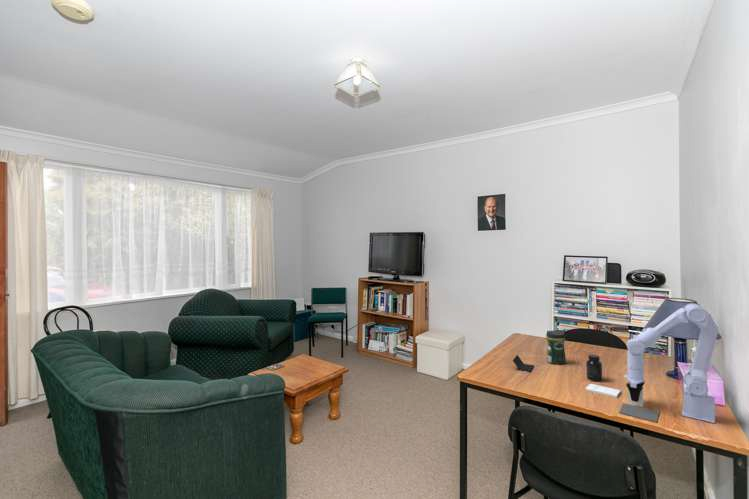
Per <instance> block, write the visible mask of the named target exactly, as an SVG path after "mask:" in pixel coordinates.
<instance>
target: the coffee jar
mask: <svg viewBox="0 0 749 499" xmlns="http://www.w3.org/2000/svg"><path fill="white" fill-rule="evenodd" d="M545 336H546V340H547V351H546V361H547V362H548V364H552V365H564V364H566V363H567V360H566V353H565V351H566V350H565V341H566V335H565V332H564V331H562V330H547V331H546V334H545Z"/></svg>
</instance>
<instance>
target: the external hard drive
mask: <svg viewBox="0 0 749 499" xmlns="http://www.w3.org/2000/svg"><path fill="white" fill-rule="evenodd" d="M585 391H588V392H592V393H596V394H599V395H604V396H607V397H612V398H614V399H615V398H618V397H619V396H620V395H621V393H622V391H621V389H616V388H611V387H607V386H603V385H599V384H595V383H589V384H588V385H587V386H586V387H585Z"/></svg>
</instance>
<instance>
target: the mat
mask: <svg viewBox="0 0 749 499" xmlns="http://www.w3.org/2000/svg"><path fill="white" fill-rule="evenodd" d="M618 413H619V414H620V415H625V416H629V417H632V418H637V419H641V420H644V421H648V422H653V423H655V422H656V423H658V419H659V414H660V411H659V410H654V409H649V408H646V407H642V406H637V405H633V404H629V403H625V402H623V403H622V404H621V408H620V410H619V411H618Z"/></svg>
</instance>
